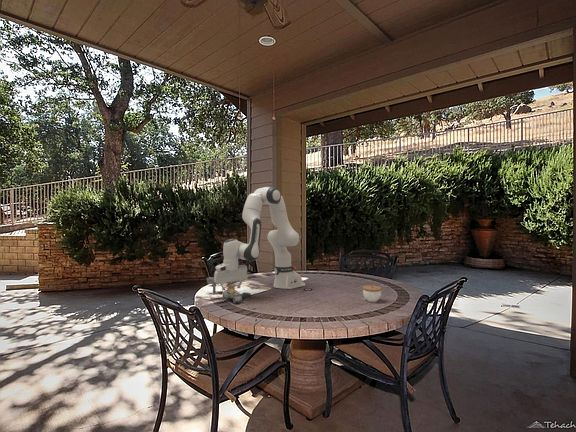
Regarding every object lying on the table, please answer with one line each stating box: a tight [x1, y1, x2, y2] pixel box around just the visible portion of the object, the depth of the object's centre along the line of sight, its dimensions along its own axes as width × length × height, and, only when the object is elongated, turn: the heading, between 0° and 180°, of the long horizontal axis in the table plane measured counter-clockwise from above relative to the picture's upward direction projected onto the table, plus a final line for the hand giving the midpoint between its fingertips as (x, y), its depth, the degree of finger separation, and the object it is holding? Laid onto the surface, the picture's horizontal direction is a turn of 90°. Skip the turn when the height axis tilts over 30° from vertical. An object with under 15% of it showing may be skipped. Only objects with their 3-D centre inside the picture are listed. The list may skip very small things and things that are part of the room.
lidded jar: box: [362, 284, 382, 303], centre depth 196 cm, size 11×11×9 cm
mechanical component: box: [205, 276, 220, 295], centre depth 215 cm, size 3×10×10 cm, turn 79°
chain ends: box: [222, 289, 252, 305], centre depth 200 cm, size 16×16×4 cm
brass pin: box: [228, 284, 235, 294], centre depth 201 cm, size 3×3×8 cm
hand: (231, 289), depth 201 cm, fingers open, 8 cm apart
